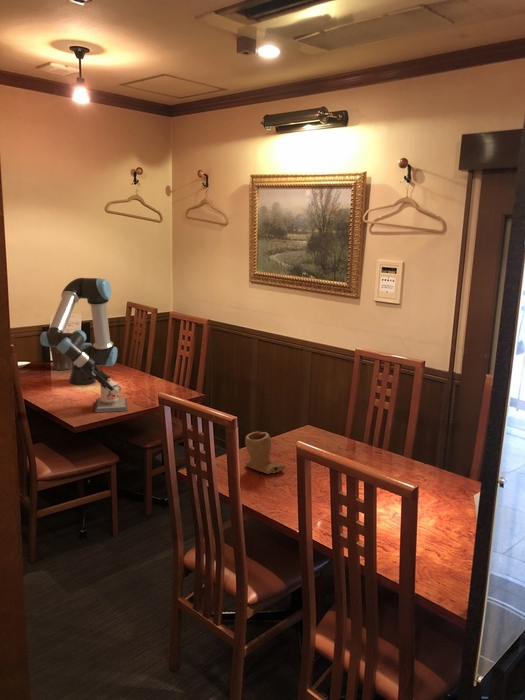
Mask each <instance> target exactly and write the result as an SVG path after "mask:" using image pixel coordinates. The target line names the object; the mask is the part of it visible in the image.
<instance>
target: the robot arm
mask: <svg viewBox="0 0 525 700" xmlns="http://www.w3.org/2000/svg"><path fill="white" fill-rule="evenodd" d="M60 296H61V299H60V302H59V305H58V307H57V308H56V312H55V314H54V316H53V318H52V322H51V324H50V326H49V328H48V330H47V331H43V332H42V333H40V335H39V336H40V337H39V341H40V345H41V346H43V347H49V348H50V347H57V349H58V350H59V351H60V352H61V353H62V354H64V355H65V356H66V357H67V358H69V359H70V360H71V361H72V369H71V373H70V376H69V383H70V384H71V385H77V386H78V385H80V386H81V385H82V386H83V385H89V384H94V383H95V382H96V381H97V382H98V383H99V385H100V384H101V385H102V386H103V387H104V388H107V389H108V390H109V391H111V392H112V393H113V394H114V395H115V396H116V395H117V394H118V393H119V389H120V388H119V386H118V390H117V389H116V388H114V387H113V386H112V385H111V384H109V383H108V382H107V379H108V378H110V379H112V377H111V376H109V375H108V374H106V373H105V372H104V371H103V370H101V369H100V368H99V367H100V366H101V367H113V366H115V364H116V362H117V360H118V359H117V358H118V348H117V347H116V346H114V342H113V341H112V340H111V338H110V337H111V335H110V327H109V318H108V309H107V305H108V302H109V300H110V299H111V298H112V287H111V283H110V282H109V281H108V279H106V278H100V277H98V278H97V277H94V278H93V277H79V278H75V279H73V280H72V281H70V282H69V283H68V284H67V285H66V286H65V287H64V289H63V291H62V292H61V294H60ZM82 299H87V300H86V301H87V304H88V305H90V309H91V319H92V327H93V334H94V343H93V344H92V343H91V342H86V340H87V334H86V333H85V331H83V330H80V329H76V330H74V331H72V332H65V330H66V328H67V325H68V322H69V321H70V317H71V315H72V314H73V313H72V312H73V310H74V307H75V305H76V303H78V302H79V300H82ZM119 394H120V393H119ZM119 394H118V395H119Z"/></svg>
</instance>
